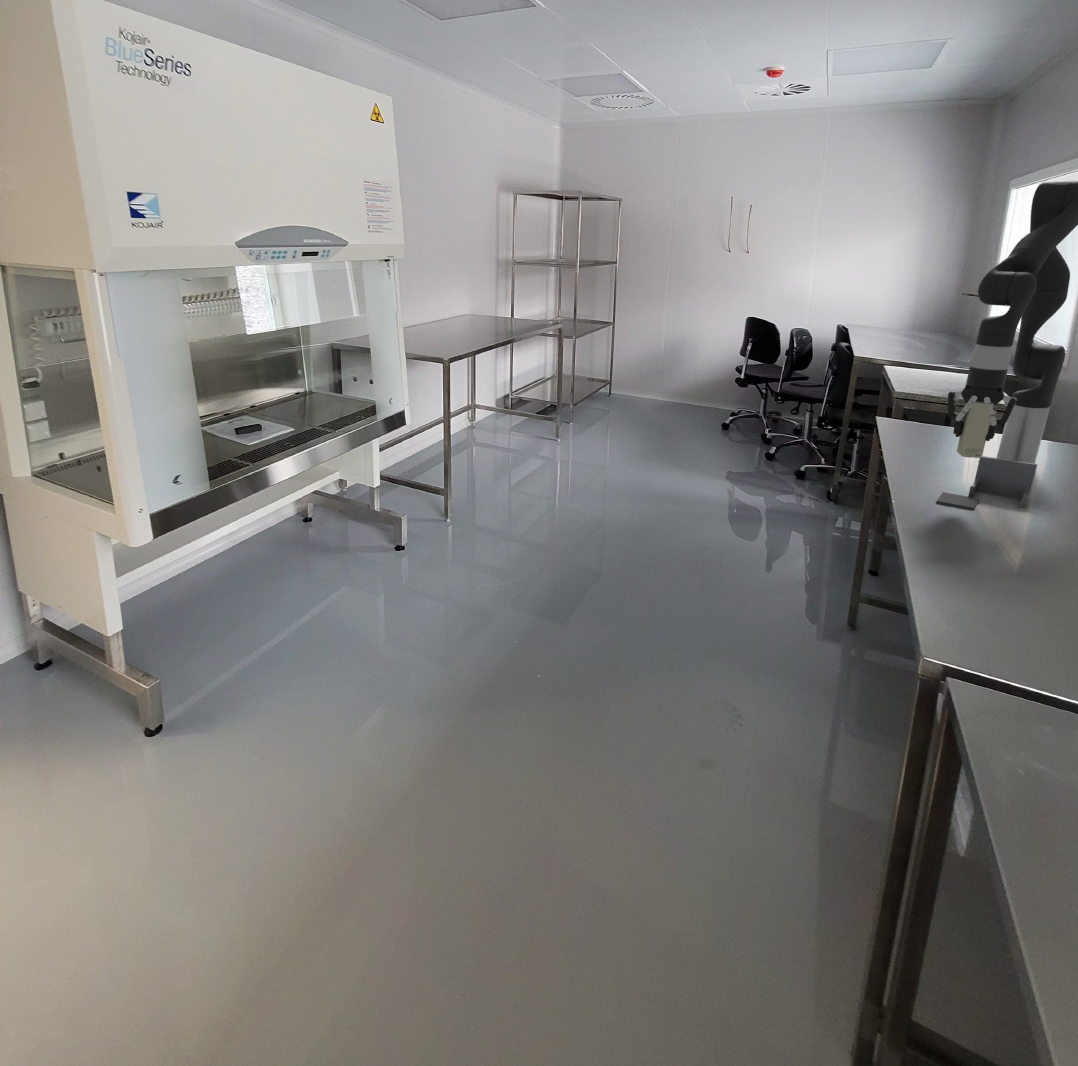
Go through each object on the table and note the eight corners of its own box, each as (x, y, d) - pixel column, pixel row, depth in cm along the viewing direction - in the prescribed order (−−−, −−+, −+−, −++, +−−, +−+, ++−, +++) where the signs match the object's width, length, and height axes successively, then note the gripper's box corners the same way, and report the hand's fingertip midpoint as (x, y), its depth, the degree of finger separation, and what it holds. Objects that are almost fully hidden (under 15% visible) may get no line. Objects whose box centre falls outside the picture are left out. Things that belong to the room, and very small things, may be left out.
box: (982, 458, 171) (996, 404, 166) (961, 457, 171) (974, 402, 166) (975, 452, 175) (988, 399, 170) (954, 451, 176) (967, 398, 171)
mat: (942, 494, 183) (942, 492, 183) (978, 500, 179) (979, 498, 178) (936, 503, 177) (936, 500, 177) (973, 510, 173) (974, 507, 172)
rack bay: (972, 489, 186) (980, 455, 183) (1028, 499, 180) (1037, 464, 176) (967, 497, 181) (976, 462, 177) (1024, 507, 174) (1034, 471, 171)
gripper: (1028, 366, 164) (1009, 439, 171) (956, 360, 172) (941, 430, 179) (1024, 371, 159) (1005, 446, 165) (950, 364, 167) (935, 437, 173)
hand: (972, 438), depth 172 cm, fingers closed on box, 5 cm apart
